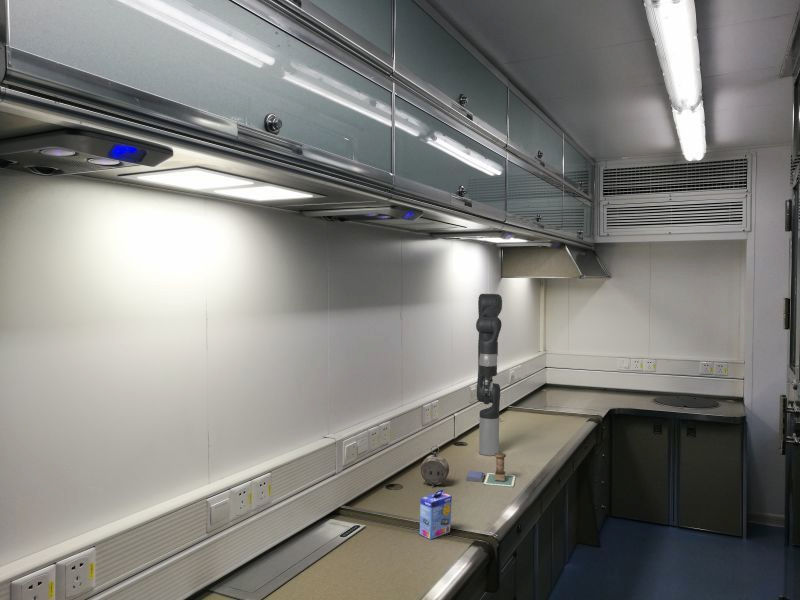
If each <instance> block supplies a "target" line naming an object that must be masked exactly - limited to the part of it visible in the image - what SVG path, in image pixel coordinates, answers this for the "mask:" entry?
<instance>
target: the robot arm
mask: <svg viewBox="0 0 800 600" xmlns="http://www.w3.org/2000/svg"><path fill="white" fill-rule="evenodd" d="M477 299H478V300H477V301H478V302H477V303H478V305H477V306H478V307H477V309H478V310H477V311H478V313H477V314H478V318H477V320H476V323H475V329H476V331H477V332H478V341H477V342H478V344H477V347H478V348H477V360H478V361H477V366H478V369H477V382H476V399H477V401H478V402H480V403H483V405H490V404H491V406H490V407H487V408H483V409H481V410H479V418H478V419H479V420H478V421H479V423H478V425H479V430H478V431H479V432H478V433H479V434H478V453H479V454H480V455H483V456H489V457H490V456H495V454H496V453H500V451H499V450H500V449H499V445H500V440H499V439H500V404H501V403H500V400H501V387H500V386H501V385H500V384H499V383H494V379H493V378H494V377H496V376H497V375H498V356H499V345H498V344H499V342H498V339H499V335H500V332H501V330H502V321H501V320H502V319H500V318H499V315H500V314H501V312H502V309H503V297H502V296H501V294H499V293H480V294H479V295H478V298H477Z"/></svg>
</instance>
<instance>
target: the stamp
mask: <svg viewBox="0 0 800 600" xmlns="http://www.w3.org/2000/svg"><path fill="white" fill-rule="evenodd" d="M494 457H495V458H496V465H495V467H496V469H495V472H494V474H495V475H494V480H495V481H497V482H504V480H505V477H506V475H507V473H506V471H505V458H506V457H507V454H506V453H505V452H499V453H496V454H495V455H494Z"/></svg>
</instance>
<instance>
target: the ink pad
mask: <svg viewBox="0 0 800 600" xmlns="http://www.w3.org/2000/svg"><path fill="white" fill-rule="evenodd" d="M484 477H485V472H483V471H478V470H477V471H474V470H469V471H468V473H467V474H466V477H465V481H466V482H467V481H468V482H476V483H482V482H483V480H484Z"/></svg>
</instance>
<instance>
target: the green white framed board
mask: <svg viewBox="0 0 800 600" xmlns="http://www.w3.org/2000/svg"><path fill="white" fill-rule="evenodd" d="M494 475H495V472H494V473H491V472H487V473H486V476H485V480H484V482H483V486H494V487H495V486H496V487H504V488H505V487H506V488H507V487H508V488H514V486H515V481H516V480H515V479H516V475H515V474H506V477H505V480H504V482H497V481H495V480H494Z"/></svg>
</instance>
